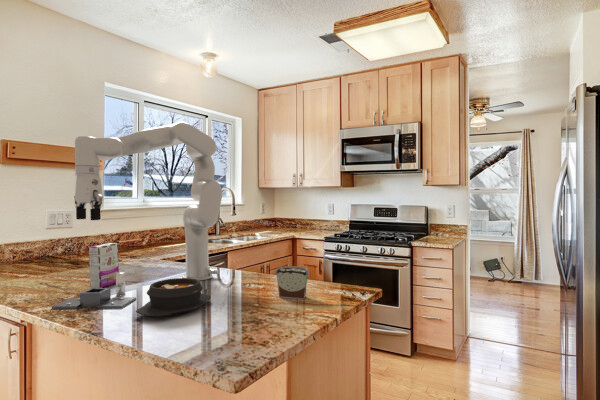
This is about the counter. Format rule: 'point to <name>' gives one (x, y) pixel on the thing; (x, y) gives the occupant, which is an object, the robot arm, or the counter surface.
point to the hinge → (95, 300)
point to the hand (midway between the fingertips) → (88, 219)
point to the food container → (292, 281)
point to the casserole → (173, 297)
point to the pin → (120, 283)
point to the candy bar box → (103, 265)
